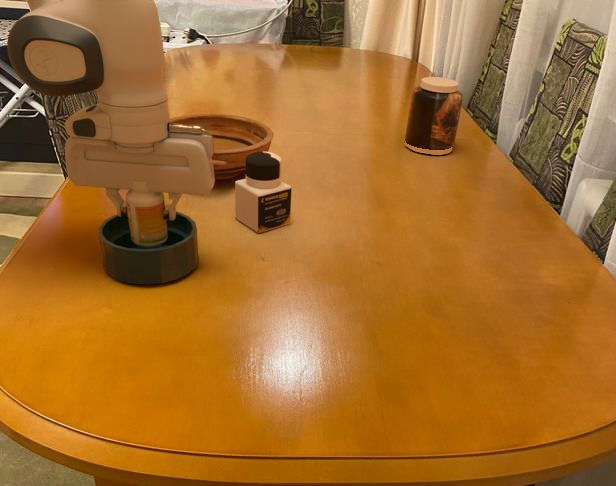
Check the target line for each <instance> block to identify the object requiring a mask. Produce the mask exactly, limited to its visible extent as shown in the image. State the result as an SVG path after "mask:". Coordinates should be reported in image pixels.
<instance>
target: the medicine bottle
mask: <svg viewBox="0 0 616 486" xmlns="http://www.w3.org/2000/svg"><path fill="white" fill-rule="evenodd" d="M245 161H246V169H245V178H243V179H238V180H236V181H235V182H234V198H235V205H234V207H235V208H234V209H235V219H236V220H237V221H239V222H240V223H241V224H243V225H245V226H247V227H248V228H249V229H251V230H252V231H254V232H255V233H257V234H261V233H265V232H267V231H271V230H275V229H277V228H281V227H284V226H285V227H286V226H288V225H290V224H291V213H292V212H291V210H292V209H291V208H292V190H293V189H292V186H291V185H290V184H288V183H287V182H284V181H283V180H282V158H281V156H280V155H278V154H276V153H274V152H271V151H268V152H265V151H260V152H254V153H251V154H249V155H248V156H247V157H246V159H245Z"/></svg>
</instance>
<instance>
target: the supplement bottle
mask: <svg viewBox="0 0 616 486" xmlns="http://www.w3.org/2000/svg"><path fill="white" fill-rule="evenodd" d="M132 189H133V190H127V192H126V194H125V201H126V205H127V212H128V219H129V227H130V234H131V239H132V241H133V243H135V244H136V245H139V246H145V247H152V246H158V245H160V244H162V243H164V242H165V241H166V240H167V238H168V233H167V223H166V220H164V219H163V216H164V215H163V208H164V206H165V205H166V203H165V196H164V192H153V191H147V188H146V185H145V182H135V181H134V182H133V188H132Z"/></svg>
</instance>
